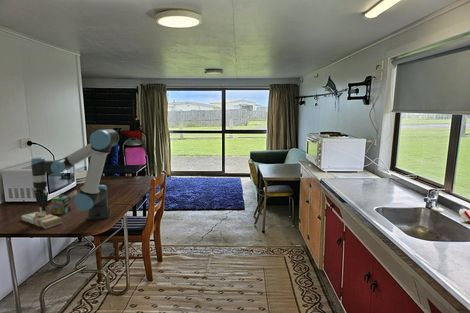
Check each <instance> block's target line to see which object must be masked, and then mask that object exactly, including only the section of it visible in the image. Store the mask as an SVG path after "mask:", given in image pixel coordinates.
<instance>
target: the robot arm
mask: <svg viewBox="0 0 470 313" xmlns="http://www.w3.org/2000/svg"><path fill="white" fill-rule="evenodd" d="M119 141H120V135H119V133H118V132H117V131H116V130H114V129H111V128H107V129H98V130H96V131H93V132H92V133H91V135H90V136H89V143H88V144H86V145H85V146H82V147H81V148H79V149H77V150H76V151H74V152H72V153H71V154H69V155H67V156H65V157H63V158H59V159H57V160H45V159H46V158H45V157H34V158H31V161H30V162H31V163H30V164H31V165H30V166H31V172H32V175H31V177H32V187H33V188H34V190H33V193H34V197H35V201H36V205H37V206H39V212H40V216H45V215H47V213H46V206H48V199H49V198H48V195H49V192H48V191H46V190H47V189H46V187H48V181H47V176H48V175H47V173H49V174H50V173H53V174H58V173H59V174H61V173H63V172H64V171H65V170H68V169H71V168H73V167H74V166H75V165H76V164H79V163H81V162H82V161H85V160H86V159H88V158H89V157H90V161H89V164H88V167H87V171H86V175H85V180H84V183H83V185H82V186H80V189H79V193H78V194H76V196H74V199H73V202H74V205H75V206H76V208H77V209H78V210H80V211H85V212H86V211H88V212H87V215H86V216H87V219H88V220H89V221H101V220H105V219H109V218H110V217H111V216H112V212H111V209H110V207H109V203H108V188H107V186H106V184H100V181H101V179H102V178H101V177H102V175H103V171H104V167H105V162H106V159H107V156H108V154H110V153H111V150H112V147H115V146H116V145H117V144H118V142H119Z"/></svg>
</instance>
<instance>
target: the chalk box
mask: <svg viewBox="0 0 470 313" xmlns="http://www.w3.org/2000/svg"><path fill="white" fill-rule="evenodd" d="M50 202H51V215H65V214H67V213H69V212H71V211H72V209H71V206H72V205H71V196H70V195H64V192H61V193H59V195H56V196H55V197H53V198H52V199H50Z"/></svg>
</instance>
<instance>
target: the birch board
mask: <svg viewBox="0 0 470 313" xmlns="http://www.w3.org/2000/svg"><path fill="white" fill-rule="evenodd" d="M62 221H63V220H62V217H60V216H57V215H55V214H51V213H49V214H46V215H45V216H41V217H38V218H34V224H33V225H34V226H37V227H40V228H43V229H46V230H47V229H50V228H52V227H55V226H59V225H62V224H63V222H62Z"/></svg>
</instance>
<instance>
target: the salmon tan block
mask: <svg viewBox="0 0 470 313" xmlns="http://www.w3.org/2000/svg"><path fill="white" fill-rule="evenodd" d="M36 212H37V213H36V214H35V216H34V218H38V217H41V216H40V211H36Z"/></svg>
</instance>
